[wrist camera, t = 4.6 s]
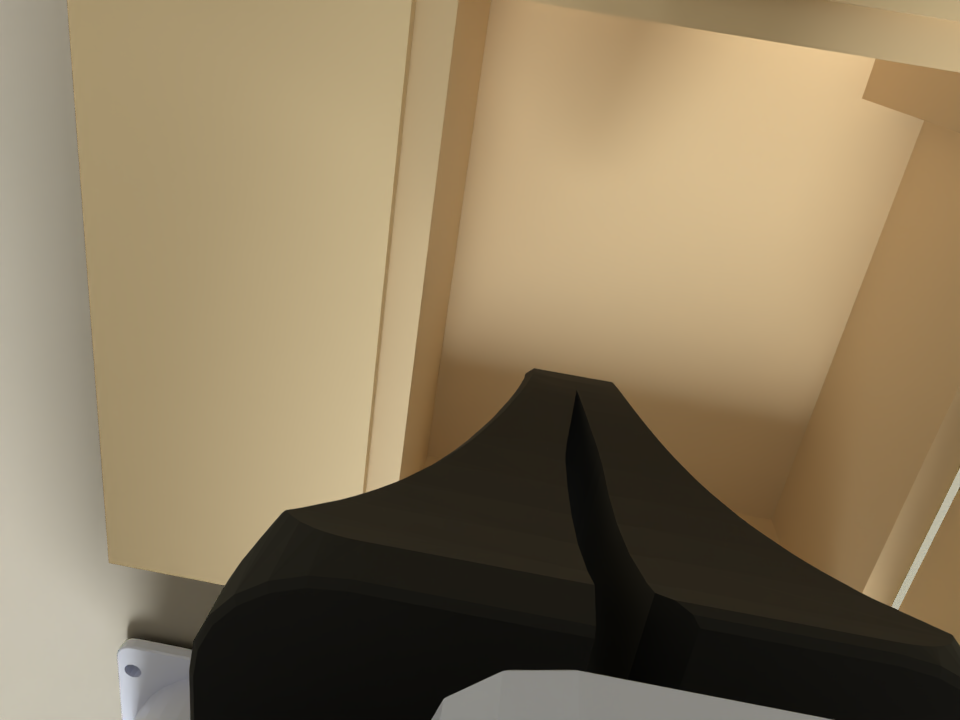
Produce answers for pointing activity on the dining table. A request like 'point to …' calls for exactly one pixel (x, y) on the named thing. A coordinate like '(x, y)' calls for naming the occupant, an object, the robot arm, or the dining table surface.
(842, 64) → the carton
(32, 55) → the dining table surface
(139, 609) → the dining table surface
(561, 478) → the robot arm
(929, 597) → the flap
